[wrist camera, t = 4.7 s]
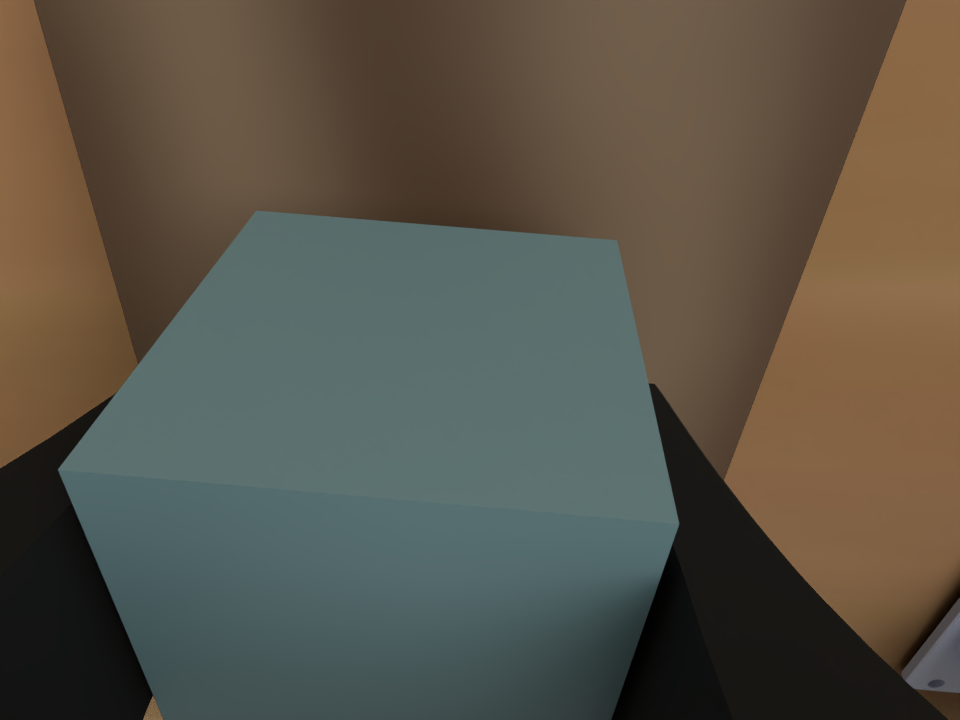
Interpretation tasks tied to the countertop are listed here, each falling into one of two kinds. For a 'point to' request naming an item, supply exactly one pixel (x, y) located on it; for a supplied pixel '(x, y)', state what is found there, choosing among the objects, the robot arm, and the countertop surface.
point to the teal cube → (385, 479)
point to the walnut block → (486, 145)
